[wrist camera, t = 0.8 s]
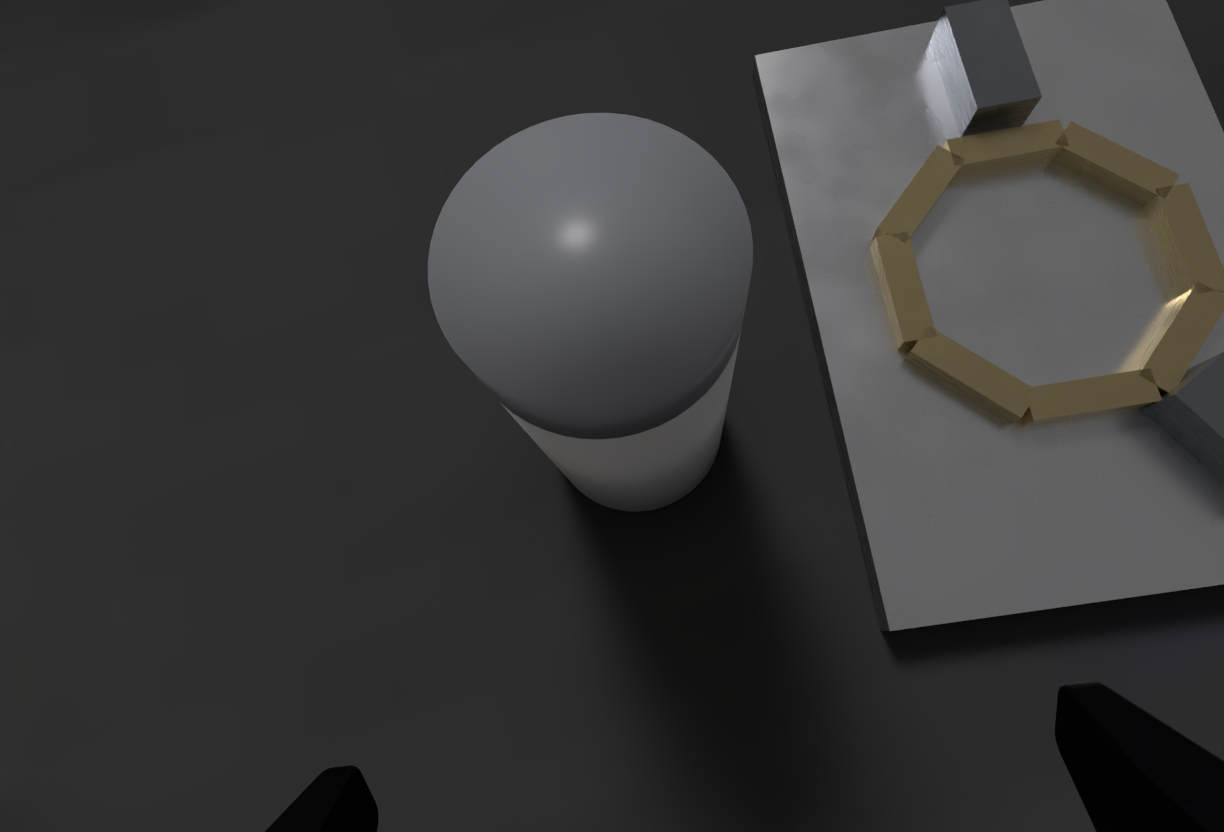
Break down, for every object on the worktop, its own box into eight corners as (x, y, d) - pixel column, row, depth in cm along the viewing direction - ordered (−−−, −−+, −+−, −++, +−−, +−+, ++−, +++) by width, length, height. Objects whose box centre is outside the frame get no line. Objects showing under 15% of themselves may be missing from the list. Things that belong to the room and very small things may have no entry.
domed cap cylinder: (735, 497, 23) (784, 380, 11) (562, 523, 23) (439, 436, 12) (705, 334, 24) (720, 86, 13) (543, 361, 25) (417, 144, 13)
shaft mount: (1375, 560, 21) (1465, 553, 18) (881, 630, 21) (905, 632, 19) (1139, 2, 26) (1185, -60, 24) (752, 75, 27) (758, 22, 25)
